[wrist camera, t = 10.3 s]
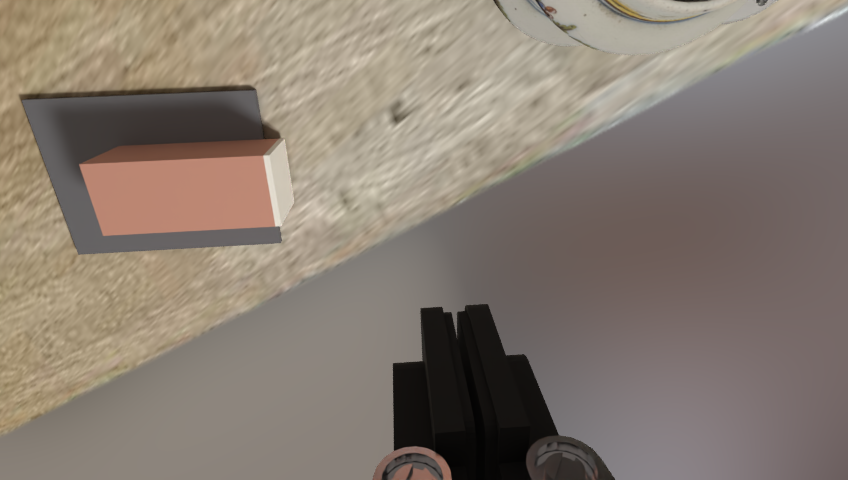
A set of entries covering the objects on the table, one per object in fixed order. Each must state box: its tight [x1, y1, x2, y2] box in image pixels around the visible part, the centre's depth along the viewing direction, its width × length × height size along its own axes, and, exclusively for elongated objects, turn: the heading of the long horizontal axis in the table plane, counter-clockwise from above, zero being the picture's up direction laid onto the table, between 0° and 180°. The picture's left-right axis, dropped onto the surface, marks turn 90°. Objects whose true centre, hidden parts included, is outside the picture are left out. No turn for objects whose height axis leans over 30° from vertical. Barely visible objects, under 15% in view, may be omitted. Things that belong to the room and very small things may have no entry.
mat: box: [22, 90, 282, 254], centre depth 37 cm, size 16×12×1 cm
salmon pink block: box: [79, 138, 294, 236], centre depth 34 cm, size 5×5×12 cm
